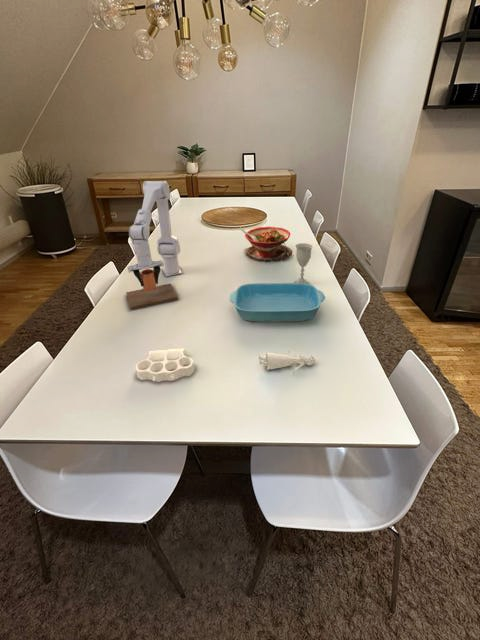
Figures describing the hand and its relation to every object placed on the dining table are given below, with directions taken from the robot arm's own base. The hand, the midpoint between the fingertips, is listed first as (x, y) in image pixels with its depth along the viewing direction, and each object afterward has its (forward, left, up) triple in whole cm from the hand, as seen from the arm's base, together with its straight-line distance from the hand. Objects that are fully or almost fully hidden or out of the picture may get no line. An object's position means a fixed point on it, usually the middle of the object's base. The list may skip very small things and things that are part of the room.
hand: (149, 284), depth 148 cm
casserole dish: (+33, +44, -7) cm, 55 cm away
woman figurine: (+64, +32, -7) cm, 72 cm away
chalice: (+17, +65, -7) cm, 68 cm away
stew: (-21, +65, -7) cm, 69 cm away
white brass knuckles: (+50, -4, -7) cm, 51 cm away
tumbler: (0, 0, -2) cm, 2 cm away
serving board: (0, 0, -6) cm, 6 cm away
